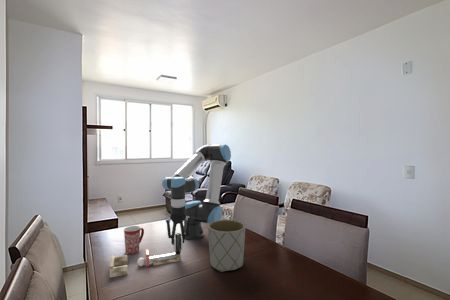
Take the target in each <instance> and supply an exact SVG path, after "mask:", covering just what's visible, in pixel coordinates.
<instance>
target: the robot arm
mask: <svg viewBox="0 0 450 300" xmlns="http://www.w3.org/2000/svg"><path fill="white" fill-rule="evenodd" d="M231 157H232V151H231V149H230V146H229V145H227V144H224V143H223V144H222V143H219V144H218V143H216V144H213V143H212V144H205V145H203V146H201V147H199V148H198V149H197V150H196V151H194V152H193V153H192V156H191V157H190V158H189V159H188V160H187V161H185V162H184V163H183V165H181V167H180V168H178V169H177V170H176V171H175V173H173V174H172V175H171V176H167V177H164V178H163V179H162V182H161V184H162V188H163V189H165V190H168V191H170V206H171V207H170V216H169V217H168V218H166V219H165V223H166V229H167V237H168V238H169V239H171V241H170V242H171V245H173V248H172V249H173V251H174V252H175V251H176V238H175V234H176V230H177V229H176V228H177V225H179V227H180V234H181V251H183V248H184V247H183V246H184V244H185V241H186V240H198V239H202V238H203V237H204V236H205V235H204V233H205V232H204V228H203V226H202V223H203V224H208V225H209V224H210V223H212V222H214V221H219V220H222V217H223V216H222V215H223V207H221V203H220V201H219V199H220V192H221V185H222V181H223V180H222V179H223V173H224V169H225V166H226V165H227V163H228V162H229V161H230V160H231ZM207 161H209V163H210V165H211V166H210V173H209V177H208V182H207V183H208V184H207V189H206V195H205V199H204V200H202V201H201V200H191V201H187V202H186V194H188V193H193V192H195V191H197V190H199V187H200V182H199V180H198V179H197V178H194V177H193V178H191V177H190V178H188V177H189V176H190V175H191V174H192V173H193V172H194V171H195V170H196V169H197V168H198V167H199V166H200V165H201V164H203V163H205V162H207ZM171 221H172V228H171V225H170V224H171ZM171 229H172V231H171Z"/></svg>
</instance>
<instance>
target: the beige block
mask: <svg viewBox="0 0 450 300" xmlns="http://www.w3.org/2000/svg"><path fill="white" fill-rule="evenodd" d="M109 263H110V264H109V278H115V277H116V278H117V277H120V276H126V275H128V254H125V255H119V256H115V255H114V254H113V255H111V256H110V261H109Z"/></svg>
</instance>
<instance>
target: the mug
mask: <svg viewBox="0 0 450 300" xmlns="http://www.w3.org/2000/svg"><path fill="white" fill-rule="evenodd" d="M123 233H124V234H123V236H124V249H125V250H124V251H125V255H135V254H137V253H138V252H140V244H141V242H142V240H143V237H144V235H145V229H144V228H143V227H141V226H140V225H129V226H126V227H125V228H124V229H123Z"/></svg>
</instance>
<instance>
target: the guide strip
mask: <svg viewBox="0 0 450 300" xmlns="http://www.w3.org/2000/svg"><path fill="white" fill-rule="evenodd" d="M154 256H157V255H154ZM181 256H182V255H181V253H180V254H179V255H177V258H172V259H167V260H161V261H157V258H156V259H153V262H151V263H152V266H159V265H164V264H169V263H173V262H180V261H181V260H182V257H181Z"/></svg>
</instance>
